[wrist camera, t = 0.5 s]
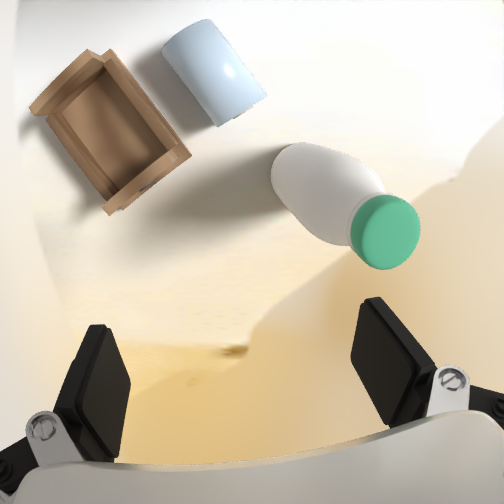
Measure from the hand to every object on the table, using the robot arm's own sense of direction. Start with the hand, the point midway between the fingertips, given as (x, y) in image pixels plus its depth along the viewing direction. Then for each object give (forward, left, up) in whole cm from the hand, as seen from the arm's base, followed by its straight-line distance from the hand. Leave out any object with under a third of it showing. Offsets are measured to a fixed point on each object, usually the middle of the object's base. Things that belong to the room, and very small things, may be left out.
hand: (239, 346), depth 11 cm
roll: (-7, -11, -26) cm, 29 cm away
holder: (+5, -13, -26) cm, 30 cm away
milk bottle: (-9, +4, -26) cm, 28 cm away
